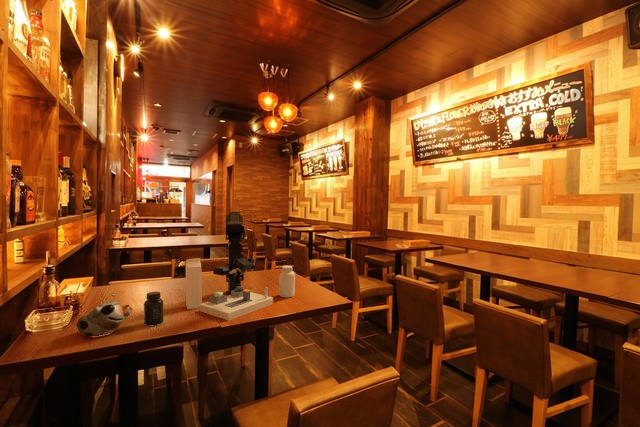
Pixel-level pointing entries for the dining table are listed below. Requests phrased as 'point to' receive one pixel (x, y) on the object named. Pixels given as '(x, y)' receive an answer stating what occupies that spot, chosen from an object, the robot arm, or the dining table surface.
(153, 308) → the supplement bottle
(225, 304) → the console
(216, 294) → the pale yellow button
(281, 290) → the pill bottle
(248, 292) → the slider
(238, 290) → the grey dome
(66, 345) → the dining table surface
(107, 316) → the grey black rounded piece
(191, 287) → the milk
